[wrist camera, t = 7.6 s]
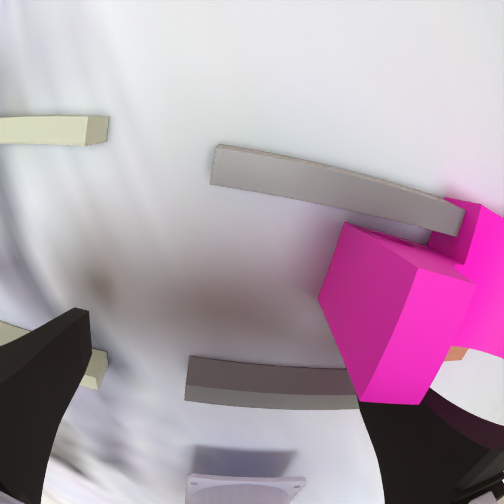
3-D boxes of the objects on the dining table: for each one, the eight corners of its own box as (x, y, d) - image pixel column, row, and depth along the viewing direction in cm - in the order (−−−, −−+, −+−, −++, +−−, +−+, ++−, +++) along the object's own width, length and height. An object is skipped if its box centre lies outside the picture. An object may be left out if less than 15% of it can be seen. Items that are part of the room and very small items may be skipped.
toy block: (544, 248, 13) (624, 282, 6) (513, 335, 15) (578, 391, 8) (354, 165, 13) (447, 160, 6) (316, 296, 14) (359, 401, 7)
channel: (447, 378, 18) (459, 397, 16) (188, 372, 16) (184, 400, 14) (519, 228, 13) (541, 240, 12) (219, 144, 11) (216, 147, 9)
